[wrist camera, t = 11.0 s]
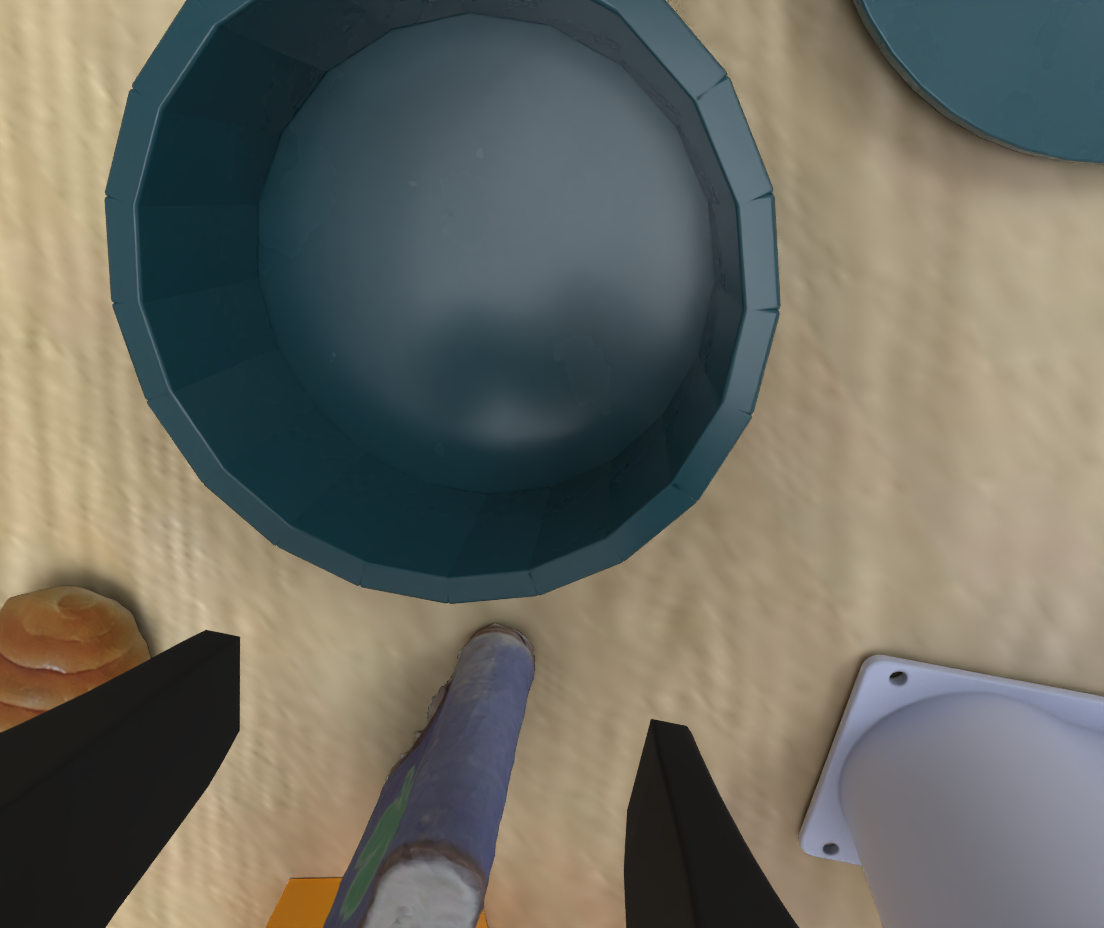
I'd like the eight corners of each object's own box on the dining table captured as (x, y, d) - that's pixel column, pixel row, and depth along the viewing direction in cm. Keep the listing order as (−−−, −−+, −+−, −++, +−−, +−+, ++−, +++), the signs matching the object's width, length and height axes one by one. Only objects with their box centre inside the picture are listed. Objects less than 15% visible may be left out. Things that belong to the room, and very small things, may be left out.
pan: (799, 33, 17) (874, -40, 12) (676, 543, 21) (691, 651, 16) (242, -52, 17) (78, -158, 12) (243, 463, 22) (125, 543, 17)
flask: (483, 607, 23) (370, 927, 13) (563, 649, 23) (514, 994, 13) (371, 794, 26) (212, 1164, 16) (442, 829, 26) (329, 1215, 16)
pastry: (3, 540, 24) (-106, 600, 20) (196, 611, 24) (122, 682, 21) (-17, 745, 27) (-113, 827, 24) (153, 806, 28) (84, 896, 24)
